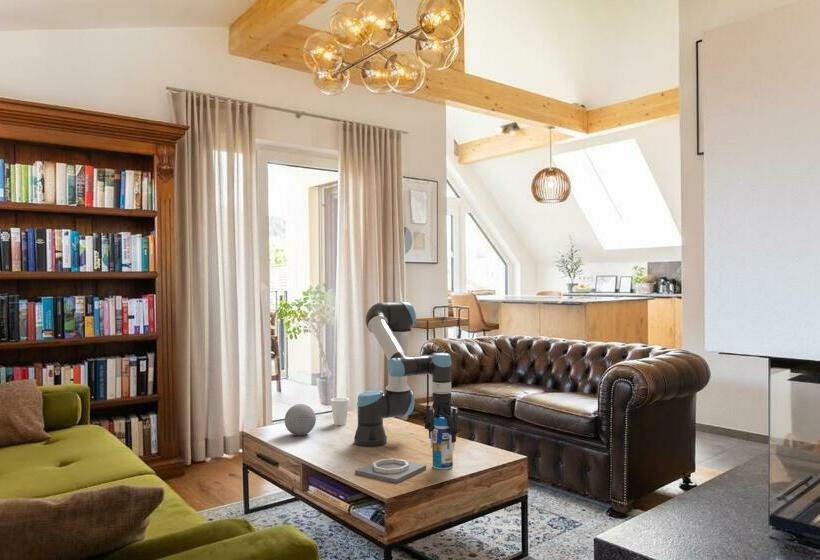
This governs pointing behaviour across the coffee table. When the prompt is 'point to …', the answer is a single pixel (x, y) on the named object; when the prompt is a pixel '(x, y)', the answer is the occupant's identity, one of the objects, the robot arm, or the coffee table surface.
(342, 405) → the foam cup
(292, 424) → the decorative ball
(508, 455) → the coffee table surface
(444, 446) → the beverage bottle
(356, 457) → the coffee table surface
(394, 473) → the slate plate
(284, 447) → the coffee table surface
